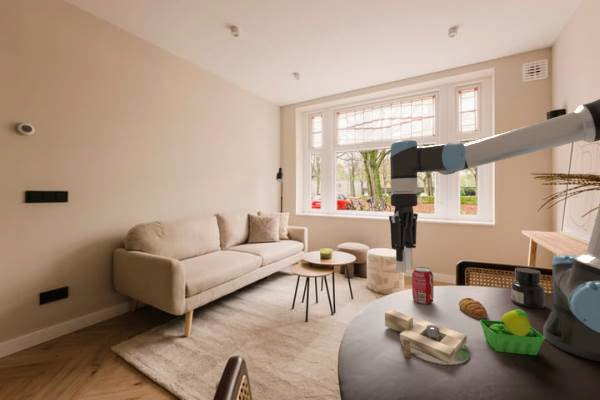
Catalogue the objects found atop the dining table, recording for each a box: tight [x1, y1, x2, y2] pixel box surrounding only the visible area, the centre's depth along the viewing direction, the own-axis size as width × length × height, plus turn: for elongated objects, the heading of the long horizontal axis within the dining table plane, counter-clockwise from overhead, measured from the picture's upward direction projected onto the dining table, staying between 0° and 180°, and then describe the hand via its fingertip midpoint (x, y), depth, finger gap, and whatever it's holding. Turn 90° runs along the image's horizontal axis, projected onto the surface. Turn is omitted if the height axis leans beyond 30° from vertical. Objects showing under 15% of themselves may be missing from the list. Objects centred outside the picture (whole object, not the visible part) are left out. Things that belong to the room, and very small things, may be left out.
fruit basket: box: [479, 308, 546, 356], centre depth 66 cm, size 11×9×11 cm
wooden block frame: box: [384, 308, 468, 363], centre depth 71 cm, size 19×12×4 cm, turn 41°
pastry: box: [458, 297, 489, 320], centre depth 86 cm, size 9×7×4 cm
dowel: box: [403, 338, 412, 359], centre depth 64 cm, size 2×2×4 cm
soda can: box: [411, 266, 434, 305], centre depth 96 cm, size 7×7×12 cm
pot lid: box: [400, 325, 470, 367], centre depth 68 cm, size 16×16×5 cm
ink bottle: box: [510, 267, 546, 310], centre depth 92 cm, size 10×9×12 cm
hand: (404, 269), depth 79 cm, fingers open, 3 cm apart
